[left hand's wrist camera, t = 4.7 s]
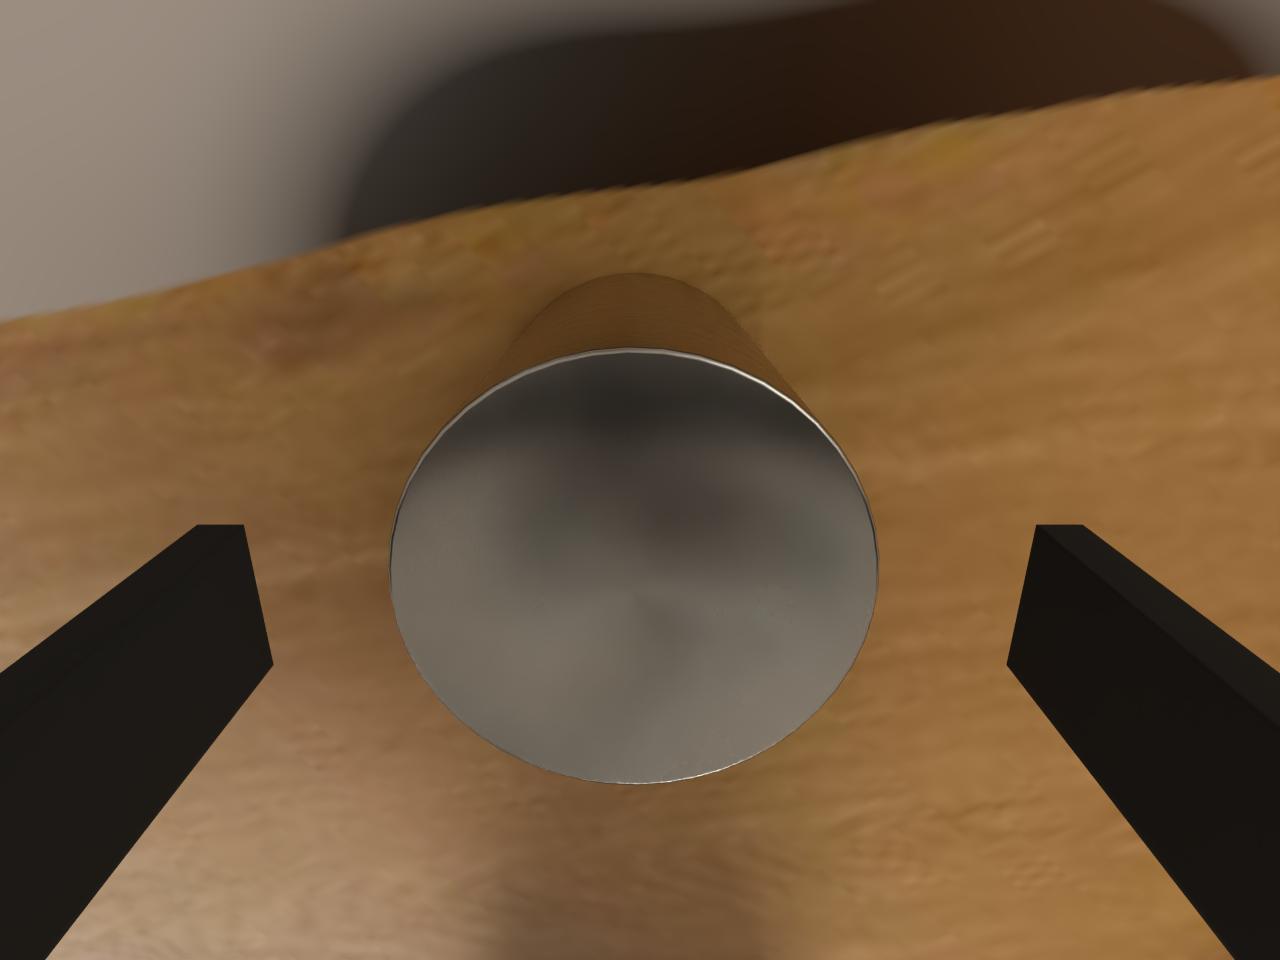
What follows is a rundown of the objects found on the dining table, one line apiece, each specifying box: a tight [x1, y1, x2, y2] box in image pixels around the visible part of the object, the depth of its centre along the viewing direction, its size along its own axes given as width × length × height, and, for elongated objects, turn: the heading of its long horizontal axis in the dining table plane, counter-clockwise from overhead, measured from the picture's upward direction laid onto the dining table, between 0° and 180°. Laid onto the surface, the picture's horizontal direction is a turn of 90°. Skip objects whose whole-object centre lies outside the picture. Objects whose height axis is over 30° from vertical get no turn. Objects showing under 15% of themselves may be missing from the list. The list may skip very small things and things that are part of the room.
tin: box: [388, 273, 879, 785], centre depth 19 cm, size 9×9×13 cm
